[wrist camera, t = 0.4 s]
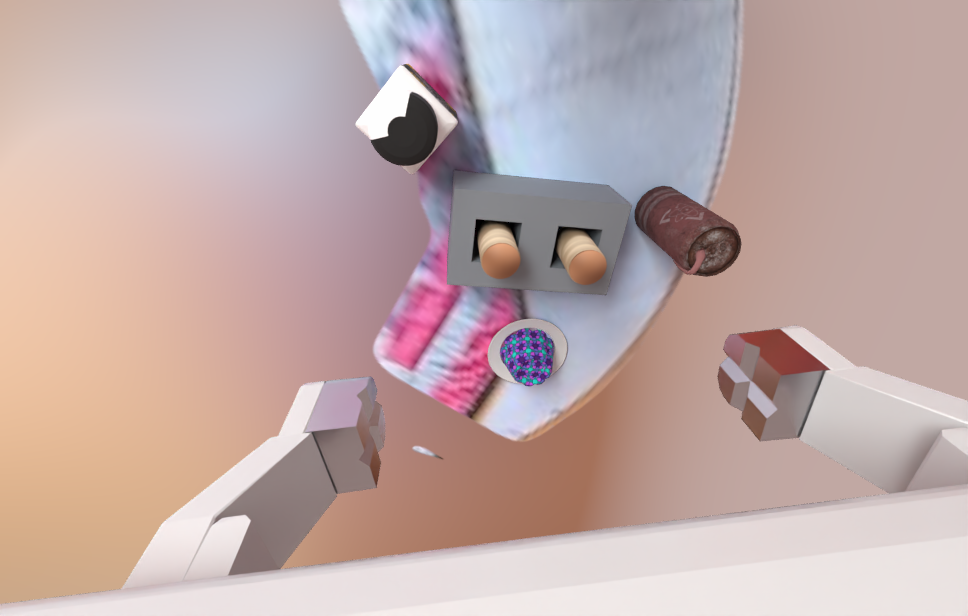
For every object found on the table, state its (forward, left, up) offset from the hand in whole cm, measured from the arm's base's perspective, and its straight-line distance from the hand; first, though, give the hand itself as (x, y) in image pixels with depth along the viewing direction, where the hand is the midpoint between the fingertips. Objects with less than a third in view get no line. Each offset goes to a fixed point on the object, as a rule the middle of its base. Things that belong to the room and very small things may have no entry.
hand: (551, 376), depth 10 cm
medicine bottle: (0, -6, -45) cm, 45 cm away
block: (+11, +8, -45) cm, 47 cm away
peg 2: (+11, +13, -39) cm, 43 cm away
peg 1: (+11, +4, -39) cm, 41 cm away
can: (+8, +25, -45) cm, 52 cm away
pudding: (+31, +12, -45) cm, 56 cm away
